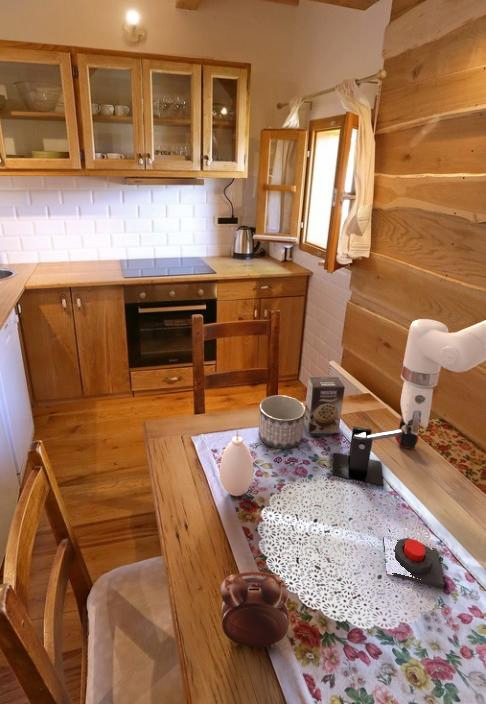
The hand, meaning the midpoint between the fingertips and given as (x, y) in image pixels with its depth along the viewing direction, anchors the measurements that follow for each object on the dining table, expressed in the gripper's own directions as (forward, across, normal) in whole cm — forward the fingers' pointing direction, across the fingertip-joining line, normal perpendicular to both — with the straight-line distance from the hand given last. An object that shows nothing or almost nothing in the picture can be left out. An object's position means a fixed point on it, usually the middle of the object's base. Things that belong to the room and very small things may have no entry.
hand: (406, 440), depth 98 cm
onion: (+12, +14, -3) cm, 19 cm away
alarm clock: (+12, -46, +27) cm, 55 cm away
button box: (+12, -24, 0) cm, 27 cm away
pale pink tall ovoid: (+12, -16, +38) cm, 43 cm away
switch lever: (+1, 0, +4) cm, 4 cm away
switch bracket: (+12, 0, +10) cm, 16 cm away
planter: (+12, +8, +31) cm, 34 cm away
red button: (+9, -24, 0) cm, 26 cm away
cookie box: (+12, +16, +20) cm, 28 cm away
